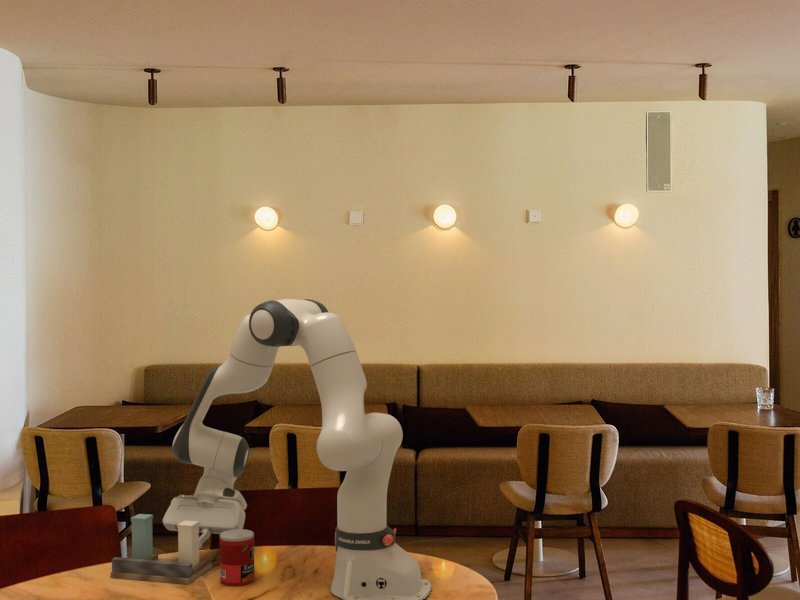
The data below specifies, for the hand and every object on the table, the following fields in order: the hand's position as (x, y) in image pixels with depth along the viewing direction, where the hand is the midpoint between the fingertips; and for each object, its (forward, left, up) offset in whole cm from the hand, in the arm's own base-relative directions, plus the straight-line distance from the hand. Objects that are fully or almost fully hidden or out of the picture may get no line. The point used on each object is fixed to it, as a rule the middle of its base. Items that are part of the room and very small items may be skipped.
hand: (193, 547), depth 204 cm
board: (+7, +3, -6) cm, 9 cm away
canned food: (-13, +4, -6) cm, 15 cm away
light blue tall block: (+14, 0, -4) cm, 15 cm away
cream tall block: (0, +2, -4) cm, 5 cm away
